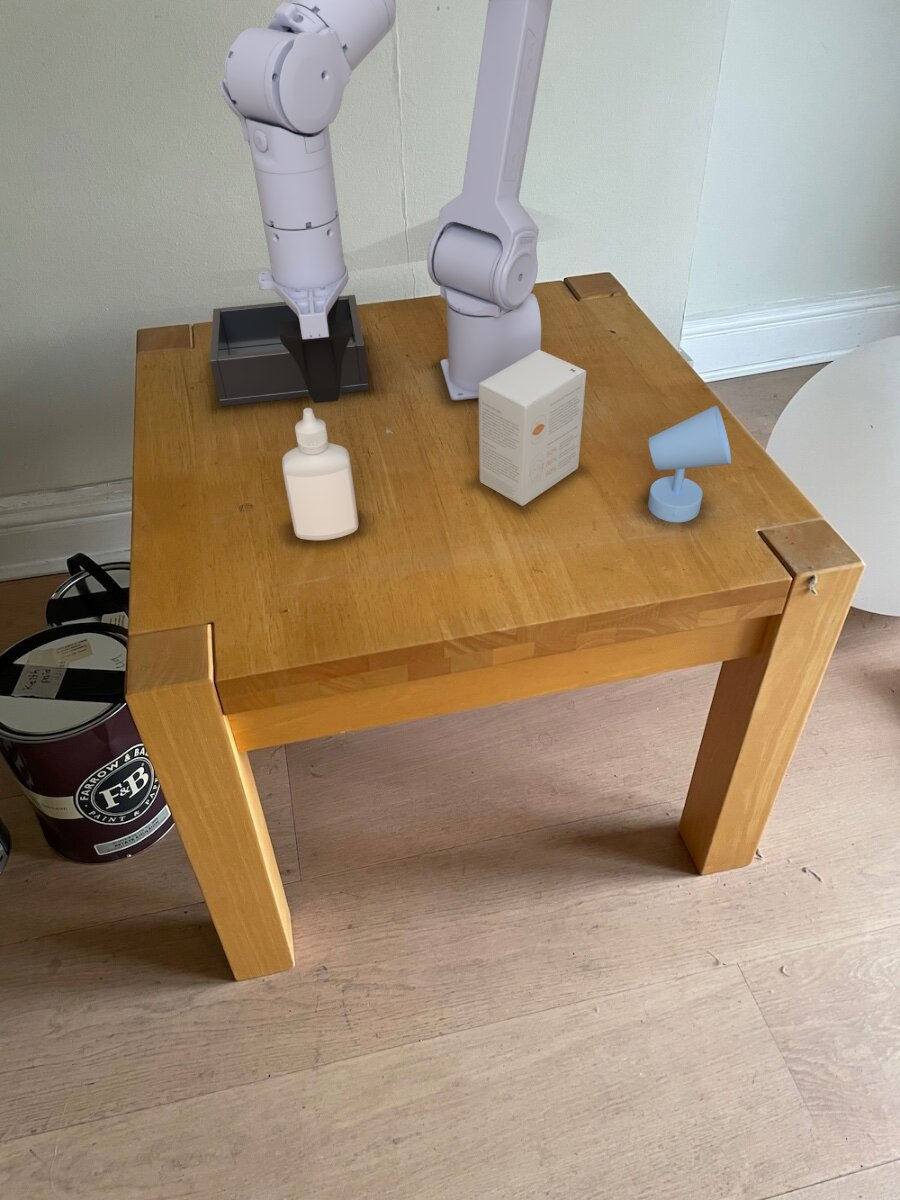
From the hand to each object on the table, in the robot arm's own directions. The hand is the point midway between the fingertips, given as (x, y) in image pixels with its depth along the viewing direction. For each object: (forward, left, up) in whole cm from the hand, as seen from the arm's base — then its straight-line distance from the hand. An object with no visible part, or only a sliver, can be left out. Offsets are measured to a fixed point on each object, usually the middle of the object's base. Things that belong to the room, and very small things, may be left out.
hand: (323, 376), depth 76 cm
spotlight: (-29, +11, -10) cm, 33 cm away
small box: (-17, +4, -10) cm, 21 cm away
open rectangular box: (+4, -20, -10) cm, 23 cm away
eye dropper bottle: (+2, +8, -10) cm, 13 cm away
